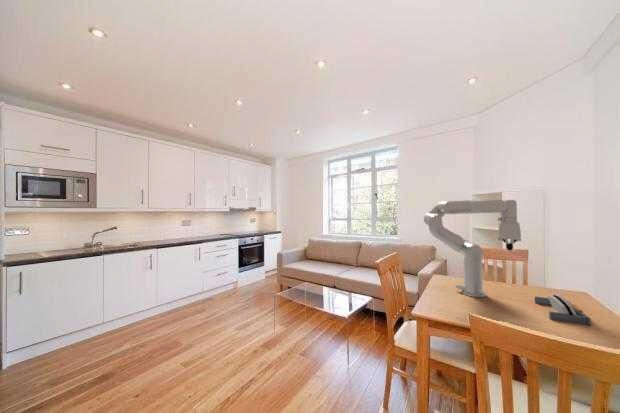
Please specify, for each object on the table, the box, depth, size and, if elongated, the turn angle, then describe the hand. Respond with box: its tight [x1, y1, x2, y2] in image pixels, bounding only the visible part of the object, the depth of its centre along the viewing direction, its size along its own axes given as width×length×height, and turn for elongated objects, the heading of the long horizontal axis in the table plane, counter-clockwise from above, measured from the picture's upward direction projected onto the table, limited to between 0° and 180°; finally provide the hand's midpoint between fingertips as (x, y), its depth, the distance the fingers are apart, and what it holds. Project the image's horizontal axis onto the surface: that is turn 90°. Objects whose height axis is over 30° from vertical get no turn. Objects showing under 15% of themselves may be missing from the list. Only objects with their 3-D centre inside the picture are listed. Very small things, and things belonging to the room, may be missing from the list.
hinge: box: [547, 294, 577, 315], centre depth 115 cm, size 17×5×10 cm, turn 153°
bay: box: [534, 296, 592, 327], centre depth 117 cm, size 13×23×4 cm, turn 150°
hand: (509, 250), depth 141 cm, fingers closed
